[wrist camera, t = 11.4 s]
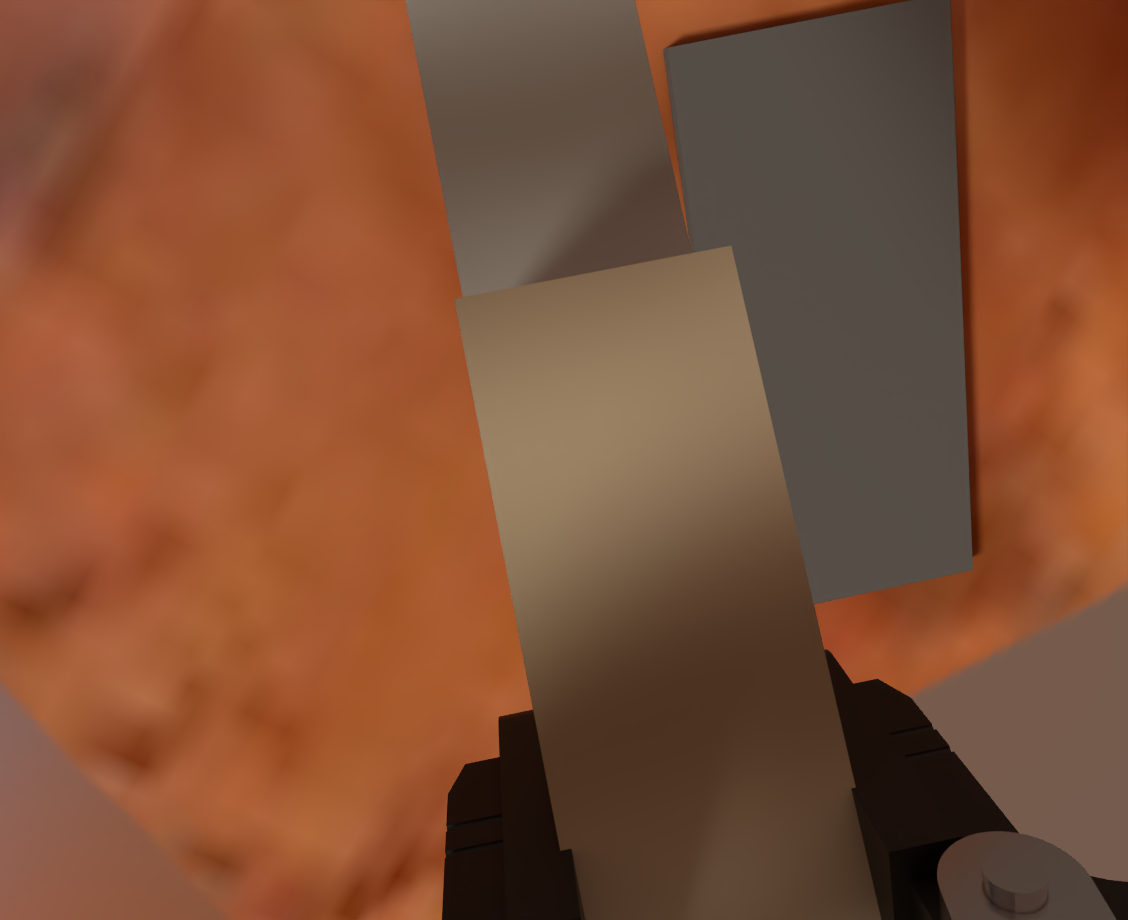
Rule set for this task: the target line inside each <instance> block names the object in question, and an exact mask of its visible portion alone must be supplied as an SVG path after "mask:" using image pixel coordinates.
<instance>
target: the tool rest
mask: <svg viewBox="0 0 1128 920" xmlns="http://www.w3.org/2000/svg"><path fill="white" fill-rule="evenodd" d="M663 51H664V58H665V65H666V73H667V80H668V87H669V95H670V102H671V109H672V117H673V124H674V131H675V139H676V146H677V153H678V160H679V168H680V175H681V182H682V190H683V197H684V204H685V212H686V219H687V226H688V234H689V241H690V248H691V253H695V252H700V251H706V250H711V249H716V248H721V247H726V246H732V251H733V255H734V259H735V264H736V268H737V273H738V277H739V281H740V286H741V290H742V294H743V299H744V303H745V307H746V312H747V316H748V320H749V325H750V329H751V333H752V338H753V342H754V347H755V351H756V355H757V360H758V364H759V368H760V373H761V377H762V381H763V386H764V390H765V394H766V399H767V403H768V408H769V412H770V416H771V421H772V425H773V429H774V434H775V438H776V442H777V447H778V451H779V455H780V460H781V464H782V468H783V473H784V477H785V482H786V486H787V490H788V495H789V499H790V503H791V508H792V512H793V516H794V521H795V525H796V529H797V534H798V538H799V542H800V547H801V551H802V556H803V560H804V564H805V569H806V573H807V577H808V582H809V586H810V590H811V595H812V599H813V603H814V604H817V603H822V602H826V601H831V600H836V599H840V598H845V597H849V596H854V595H859V594H863V593H868V592H873V591H877V590H882V589H887V588H891V587H896V586H901V585H905V584H910V583H914V582H919V581H924V580H928V579H933V578H938V577H942V576H947V575H952V574H956V573H961V572H966V571H970V570H973V559H972V534H971V508H970V483H969V457H968V432H967V407H966V381H965V356H964V331H963V305H962V280H961V254H960V229H959V204H958V178H957V153H956V128H955V102H954V77H953V52H952V26H951V1H950V0H909V1H904V2H899V3H894V4H889V5H883V6H878V7H873V8H868V9H863V10H858V11H853V12H848V13H842V14H837V15H832V16H827V17H822V18H817V19H812V20H807V21H801V22H796V23H791V24H786V25H781V26H776V27H771V28H766V29H761V30H755V31H750V32H745V33H740V34H735V35H730V36H725V37H720V38H714V39H709V40H704V41H699V42H694V43H689V44H684V45H679V46H673V47H668V48H666V49H664V50H663Z"/></svg>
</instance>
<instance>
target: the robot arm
mask: <svg viewBox="0 0 1128 920" xmlns="http://www.w3.org/2000/svg"><path fill="white" fill-rule="evenodd" d="M824 651H825V656H826V660H827V664H828V669H829V673H830V677H831V682H832V686H833V691H834V695H835V699H836V704H837V708H838V712H839V717H840V721H841V725H842V730H843V734H844V738H845V743H846V747H847V752H848V756H849V760H850V765H851V769H852V773H853V778H854V782H855V786H856V788H851V790H852V794H853V798H854V803H855V807H856V811H857V816H858V820H859V825H860V829H861V833H862V838H863V842H864V846H865V851H866V855H867V859H868V864H869V868H870V872H871V877H872V881H873V885H874V890H875V894H876V898H877V903H878V907H879V911H880V916H881V920H1128V882H1123V881H1122V882H1121V881H1113V880H1106V879H1101V878H1097V877H1092V876H1090V875H1089V874H1088V873H1087V872H1086V870H1085V868H1083V867H1082V865H1081V864H1079V862H1078V861H1076V860H1075V859H1074V858H1073V857H1072V856H1070V855H1069V854H1068V853H1066V852H1065V851H1063V850H1061V849H1060V848H1058V847H1056V846H1055V845H1053V844H1051V843H1048V842H1046V841H1044V840H1041V839H1038V838H1035V837H1032V836H1029V835H1024V834H1020V833H1018V831H1017V830H1016V829H1015V828H1014V826H1013V825H1012V824H1011V823H1010V821H1009V820H1008V819H1007V818H1006V816H1005V815H1004V814H1003V812H1002V811H1001V810H1000V809H999V808H998V806H997V805H996V804H995V803H994V801H993V800H992V799H991V797H990V796H989V795H988V794H987V792H986V791H985V790H984V789H983V787H982V786H981V785H980V784H979V782H978V781H977V780H976V779H975V778H974V776H973V775H972V774H971V772H970V771H969V770H968V769H967V767H966V766H965V765H964V764H963V762H962V761H961V760H960V759H959V758H958V756H957V755H956V754H955V752H951V750H950V747H949V745H948V744H947V742H946V741H945V740H944V739H943V737H942V736H941V735H940V734H939V732H938V731H937V730H934V729H933V727H932V724H931V722H930V721H929V720H928V719H927V717H926V716H925V715H924V714H923V712H922V711H921V710H920V709H919V707H918V706H917V705H916V704H915V702H914V701H913V700H912V699H911V698H910V697H908V696H907V695H905V694H903V693H901V692H900V691H898V690H896V689H894V688H893V687H891V686H889V685H887V684H886V683H884V682H882V681H880V680H879V679H874V680H869V681H865V682H860V683H855V684H853V683H852V682H851V680H850V679H849V677H848V676H847V674H846V673H845V672H844V670H843V669H842V667H841V666H840V665H839V663H838V662H837V660H836V659H835V658H834V656H833V655H832V654H831V652H830V651H828V650H824ZM499 750H500V757H498V758H493V759H488V760H483V761H478V762H474V763H469V764H465V766H464V767H463V769H462V771H461V773H460V774H459V776H458V778H457V780H456V781H455V783H454V785H453V786H452V788H451V790H450V792H449V793H448V804H447V825H446V826H447V832H446V846H445V853H446V858H445V868H444V889H443V910H442V920H585V916H584V911H583V906H582V901H581V895H580V890H579V885H578V880H577V875H576V870H575V865H574V860H573V854H572V849H567V850H562V851H560V847H559V841H558V836H557V831H556V826H555V821H554V815H553V810H552V805H551V800H550V795H549V789H548V784H547V779H546V774H545V768H544V763H543V758H542V753H541V748H540V742H539V737H538V732H537V727H536V722H535V716H534V711H533V710H529V711H524V712H520V713H515V714H510V715H505V716H500V717H499Z"/></svg>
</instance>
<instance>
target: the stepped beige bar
mask: <svg viewBox="0 0 1128 920" xmlns="http://www.w3.org/2000/svg"><path fill="white" fill-rule="evenodd" d="M406 5H407V10H408V15H409V21H410V26H411V31H412V36H413V41H414V47H415V52H416V57H417V62H418V67H419V72H420V78H421V83H422V88H423V93H424V98H425V104H426V109H427V114H428V119H429V124H430V129H431V135H432V140H433V145H434V150H435V155H436V161H437V166H438V171H439V176H440V181H441V186H442V192H443V197H444V202H445V207H446V212H447V218H448V223H449V228H450V233H451V238H452V243H453V249H454V254H455V259H456V264H457V269H458V275H459V280H460V285H461V290H462V295H463V297H461V298H456V299H455V304H456V310H457V315H458V320H459V325H460V331H461V336H462V341H463V346H464V351H465V357H466V362H467V367H468V372H469V377H470V383H471V388H472V393H473V398H474V404H475V409H476V414H477V419H478V424H479V430H480V435H481V440H482V445H483V450H484V456H485V461H486V466H487V471H488V477H489V482H490V487H491V492H492V497H493V503H494V508H495V513H496V518H497V523H498V529H499V534H500V539H501V544H502V550H503V555H504V560H505V565H506V570H507V576H508V581H509V586H510V591H511V596H512V602H513V607H514V612H515V617H516V623H517V628H518V633H519V638H520V643H521V649H522V654H523V659H524V664H525V669H526V675H527V680H528V685H529V690H530V696H531V701H532V706H533V711H534V716H535V722H536V727H537V732H538V737H539V742H540V748H541V753H542V758H543V763H544V768H545V774H546V779H547V784H548V789H549V795H550V800H551V805H552V810H553V815H554V821H555V826H556V831H557V836H558V841H559V847H560V851H562V850H567V849H572V854H573V860H574V865H575V870H576V875H577V880H578V885H579V890H580V895H581V901H582V906H583V911H584V916H585V920H881V916H880V911H879V907H878V903H877V898H876V894H875V890H874V885H873V881H872V877H871V872H870V868H869V864H868V859H867V855H866V851H865V846H864V842H863V838H862V833H861V829H860V825H859V820H858V816H857V811H856V807H855V803H854V798H853V794H852V790H851V788H856V786H855V782H854V778H853V773H852V769H851V765H850V760H849V756H848V752H847V747H846V743H845V738H844V734H843V730H842V725H841V721H840V717H839V712H838V708H837V704H836V699H835V695H834V691H833V686H832V682H831V677H830V673H829V669H828V664H827V660H826V656H825V651H824V647H823V643H822V638H821V634H820V630H819V625H818V621H817V617H816V612H815V608H814V603H813V599H812V595H811V590H810V586H809V582H808V577H807V573H806V569H805V564H804V560H803V556H802V551H801V547H800V542H799V538H798V534H797V529H796V525H795V521H794V516H793V512H792V508H791V503H790V499H789V495H788V490H787V486H786V482H785V477H784V473H783V468H782V464H781V460H780V455H779V451H778V447H777V442H776V438H775V434H774V429H773V425H772V421H771V416H770V412H769V408H768V403H767V399H766V394H765V390H764V386H763V381H762V377H761V373H760V368H759V364H758V360H757V355H756V351H755V347H754V342H753V338H752V333H751V329H750V325H749V320H748V316H747V312H746V307H745V303H744V299H743V294H742V290H741V286H740V281H739V277H738V273H737V268H736V264H735V259H734V255H733V251H732V246H726V247H721V248H716V249H711V250H706V251H700V252H695V253H691V249H690V244H689V240H688V235H687V231H686V227H685V222H684V218H683V213H682V209H681V204H680V200H679V195H678V191H677V186H676V182H675V177H674V173H673V169H672V164H671V160H670V155H669V151H668V146H667V142H666V137H665V133H664V128H663V124H662V119H661V115H660V111H659V106H658V102H657V97H656V93H655V88H654V84H653V79H652V75H651V70H650V66H649V61H648V57H647V53H646V48H645V44H644V39H643V35H642V30H641V26H640V21H639V17H638V12H637V8H636V3H635V0H406Z"/></svg>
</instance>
